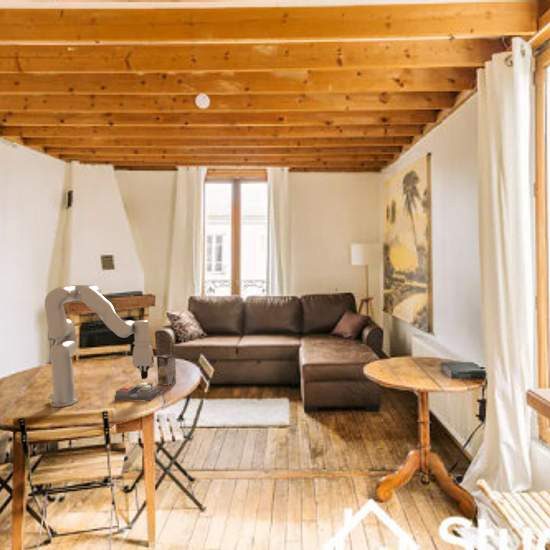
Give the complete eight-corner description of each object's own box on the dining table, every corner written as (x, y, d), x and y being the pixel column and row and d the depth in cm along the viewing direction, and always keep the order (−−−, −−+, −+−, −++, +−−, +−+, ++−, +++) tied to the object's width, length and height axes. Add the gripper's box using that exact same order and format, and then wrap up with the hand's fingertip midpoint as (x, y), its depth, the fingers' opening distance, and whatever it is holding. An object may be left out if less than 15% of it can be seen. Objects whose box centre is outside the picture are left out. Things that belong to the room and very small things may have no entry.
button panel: (114, 399, 205) (114, 391, 204) (131, 389, 219) (130, 381, 219) (149, 401, 200) (149, 392, 200) (164, 391, 215) (163, 382, 215)
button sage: (139, 391, 203) (139, 388, 203) (144, 388, 208) (144, 385, 208) (148, 392, 202) (148, 388, 202) (153, 389, 207) (152, 385, 207)
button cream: (136, 388, 211) (136, 385, 211) (141, 386, 216) (141, 382, 216) (145, 389, 210) (144, 385, 210) (149, 386, 215) (149, 382, 215)
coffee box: (157, 383, 229) (156, 356, 228) (166, 380, 234) (164, 353, 233) (168, 386, 223) (166, 357, 223) (177, 382, 229) (175, 355, 228)
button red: (119, 393, 206) (118, 389, 206) (124, 390, 210) (124, 386, 210) (127, 393, 205) (127, 389, 205) (132, 390, 209) (132, 386, 209)
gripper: (125, 345, 205) (127, 380, 206) (152, 345, 203) (154, 380, 204) (133, 342, 213) (135, 375, 214) (159, 342, 210) (161, 376, 211)
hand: (144, 378), depth 209 cm, fingers closed
